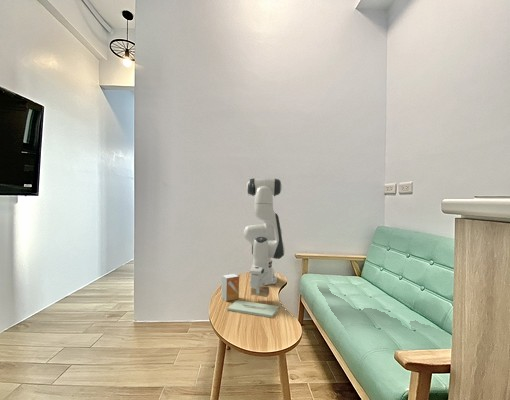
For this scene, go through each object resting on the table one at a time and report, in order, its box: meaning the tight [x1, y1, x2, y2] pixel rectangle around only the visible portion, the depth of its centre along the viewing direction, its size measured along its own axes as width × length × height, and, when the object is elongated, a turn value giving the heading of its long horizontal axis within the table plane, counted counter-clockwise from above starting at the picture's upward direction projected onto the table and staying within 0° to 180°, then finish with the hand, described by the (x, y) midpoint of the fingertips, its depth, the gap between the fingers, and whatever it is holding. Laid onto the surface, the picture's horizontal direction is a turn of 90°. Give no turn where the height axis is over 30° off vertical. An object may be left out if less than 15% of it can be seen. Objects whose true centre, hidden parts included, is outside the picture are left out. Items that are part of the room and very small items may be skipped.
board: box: [227, 299, 280, 318], centre depth 152 cm, size 12×24×1 cm, turn 69°
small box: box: [221, 273, 240, 302], centre depth 167 cm, size 8×6×13 cm
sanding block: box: [250, 285, 270, 298], centre depth 164 cm, size 5×9×4 cm, turn 69°
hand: (260, 291), depth 164 cm, fingers closed on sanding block, 5 cm apart
